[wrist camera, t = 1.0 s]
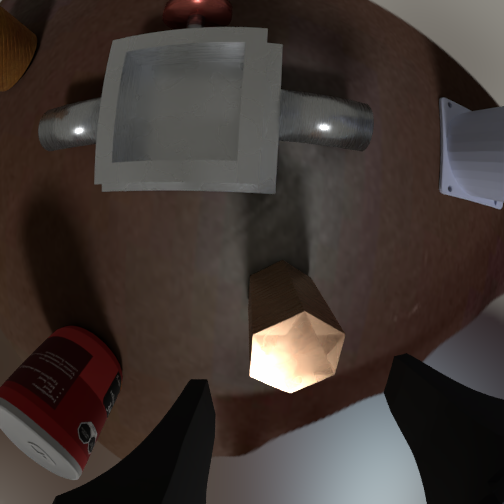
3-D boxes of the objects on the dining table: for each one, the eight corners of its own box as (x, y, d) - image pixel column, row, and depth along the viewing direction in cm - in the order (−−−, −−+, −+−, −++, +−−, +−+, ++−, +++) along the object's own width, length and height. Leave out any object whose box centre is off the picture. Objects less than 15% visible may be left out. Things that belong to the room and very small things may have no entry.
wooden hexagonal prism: (312, 261, 17) (350, 311, 11) (304, 323, 19) (329, 390, 12) (251, 258, 17) (254, 310, 10) (247, 322, 18) (248, 393, 12)
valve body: (351, 42, 13) (377, 13, 9) (349, 199, 16) (381, 207, 12) (78, 50, 13) (47, 31, 8) (61, 192, 16) (20, 199, 11)
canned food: (96, 399, 21) (54, 478, 10) (43, 340, 19) (-20, 407, 8) (143, 380, 20) (100, 483, 9) (81, 308, 18) (-2, 392, 7)
